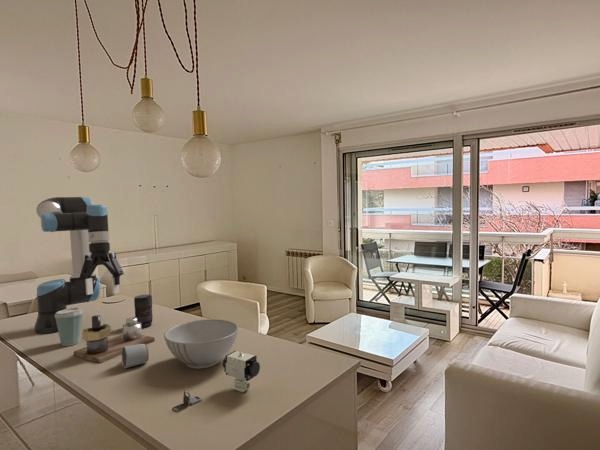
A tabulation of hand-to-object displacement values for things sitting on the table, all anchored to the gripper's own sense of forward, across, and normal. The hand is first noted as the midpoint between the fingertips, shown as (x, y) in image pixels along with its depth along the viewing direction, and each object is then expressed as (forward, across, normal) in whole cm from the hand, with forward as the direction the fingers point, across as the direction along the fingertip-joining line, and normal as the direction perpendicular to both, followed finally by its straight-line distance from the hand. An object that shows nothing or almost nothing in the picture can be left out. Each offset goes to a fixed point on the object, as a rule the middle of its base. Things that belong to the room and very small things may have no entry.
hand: (102, 293), depth 152 cm
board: (+23, +1, +4) cm, 23 cm away
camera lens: (+21, -6, +30) cm, 37 cm away
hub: (+21, +3, +11) cm, 24 cm away
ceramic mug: (+26, +20, -8) cm, 33 cm away
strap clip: (+30, +56, -27) cm, 69 cm away
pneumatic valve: (+30, +68, -15) cm, 76 cm away
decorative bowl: (+27, +44, +1) cm, 52 cm away
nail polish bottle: (+22, 0, -4) cm, 22 cm away
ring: (+16, 0, -5) cm, 17 cm away
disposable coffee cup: (+21, -22, +3) cm, 31 cm away
